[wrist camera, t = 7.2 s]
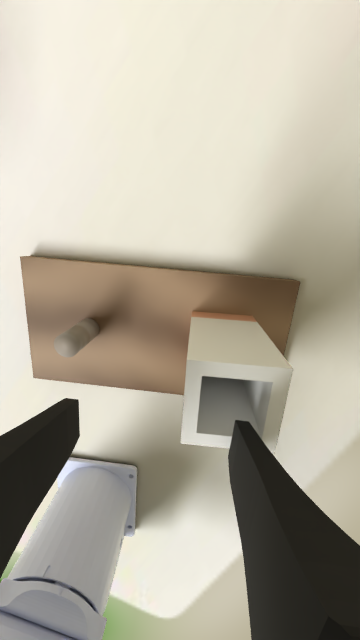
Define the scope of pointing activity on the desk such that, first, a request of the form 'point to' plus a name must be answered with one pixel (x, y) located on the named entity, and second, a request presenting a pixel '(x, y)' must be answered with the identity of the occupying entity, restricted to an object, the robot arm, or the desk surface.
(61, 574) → the robot arm
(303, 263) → the desk surface
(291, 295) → the pin board
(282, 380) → the sleeve
